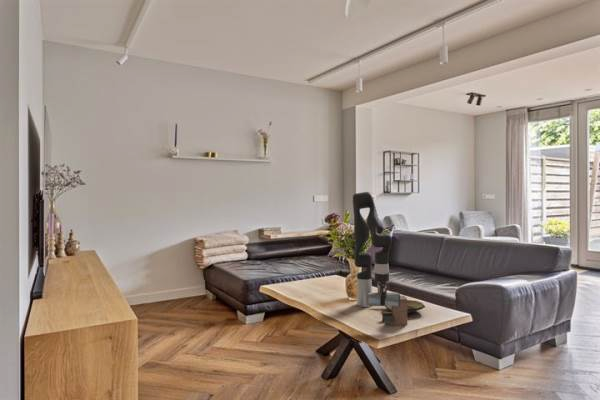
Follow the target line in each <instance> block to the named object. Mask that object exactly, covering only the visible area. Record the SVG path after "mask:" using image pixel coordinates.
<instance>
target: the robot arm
mask: <svg viewBox="0 0 600 400" xmlns="http://www.w3.org/2000/svg"><path fill="white" fill-rule="evenodd" d="M352 207H353V218H354V219H353V223H354V224H353V235H354V237H353V238H354V257H353V258H354V261H353V262H354V265H355V267H356V268H366V269H365V270H361V271H360V272H357V274H356V306H357V307H359V308H370V307H372V306H369V305H368V293H373V286H372V285H373V284H372V283H373V281H372V279H373V278H372V277H373V276H372V275H373V274H372V271H373V270H372V268H373V265H372V264H373V255H372V253H371V252H361V250H362V248H363V247H364V246H365V244H366V243H367V242H368V240H369V239H370V241H371V242H370V243H371V245H372V247H374V248H382V249H381V250H378V251H376V252H375V253H374V272H373V273H374V281H375V282H377V283H376V284H377V285H376V286H377V287H376V288H377V293H379V294H380V299H381V306H380V307H385V298H386V294H387V293H388V291H387V290H388V288H387V284H386V283H388V282H389V281H390V265H389V263H390V262H389V259H390V258H389V255H390V251H391V247H392V243H393V238H392V236H391V234H390V233H383V231H384V227H383V224H382V223H381V222H382V221H381V220H380V218H379V216H378V215H379V214H378V212H377V208H376V204H375V201H374V198H373V195H372V194H371V192H370V191H364V192H358V193H354V194H353V195H352ZM367 208H368V209H369V212H368V215H367V218H366V219H365V217H363V216H362V215H363V214H361V210H362V209H367ZM383 295H384V296H383Z"/></svg>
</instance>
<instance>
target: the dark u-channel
mask: <svg viewBox="0 0 600 400" xmlns="http://www.w3.org/2000/svg"><path fill="white" fill-rule="evenodd" d="M407 300H408V298H407V297H406V296H405V295H400V306H391V310H390V312H387V311H386V312H381V318H382V319H381V321H382V322H384V326H408V313H407Z"/></svg>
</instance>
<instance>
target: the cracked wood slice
mask: <svg viewBox="0 0 600 400" xmlns="http://www.w3.org/2000/svg"><path fill="white" fill-rule="evenodd" d="M384 307H385V308H386V309H387V310H389V311H391V306H384ZM425 308H426V306H425V305H424V303H423V302H421V301H418V300H412V299H407V314H411V313H414V312H417V311H421V310H423V309H425Z"/></svg>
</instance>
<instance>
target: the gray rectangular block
mask: <svg viewBox="0 0 600 400" xmlns="http://www.w3.org/2000/svg"><path fill="white" fill-rule="evenodd" d="M383 296H384V295H383ZM400 296H401V294H400V293H399V292H387V294H386V298H385V306H400ZM368 305H369V306H371V307H382V306H381V299H380V294H379V293H378V292H372V293H368ZM385 306H384V307H385Z"/></svg>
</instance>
